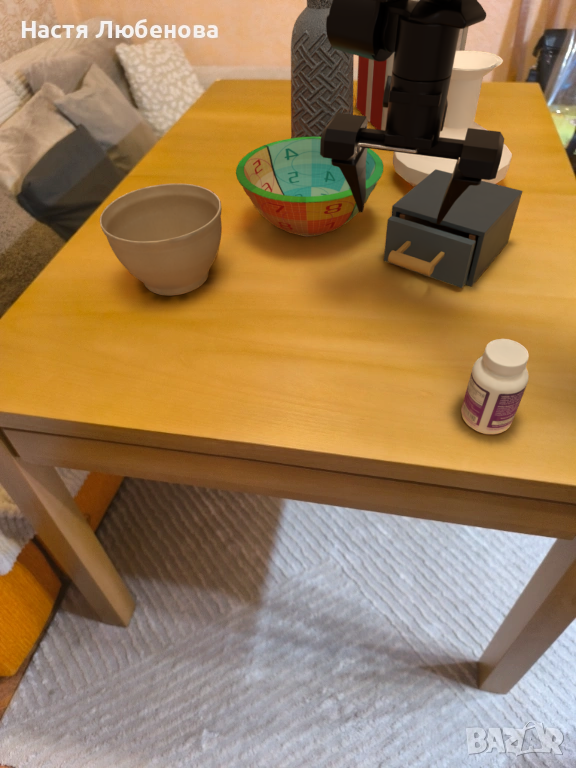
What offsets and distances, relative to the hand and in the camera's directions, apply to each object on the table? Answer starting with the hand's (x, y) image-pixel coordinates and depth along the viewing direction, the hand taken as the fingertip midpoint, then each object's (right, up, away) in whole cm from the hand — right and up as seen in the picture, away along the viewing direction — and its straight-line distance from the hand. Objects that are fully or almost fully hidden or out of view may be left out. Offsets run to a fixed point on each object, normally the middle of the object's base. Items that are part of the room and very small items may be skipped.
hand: (399, 216), depth 63 cm
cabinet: (+11, 0, +17) cm, 20 cm away
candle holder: (+15, +17, +33) cm, 40 cm away
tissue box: (+12, +40, +55) cm, 69 cm away
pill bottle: (+8, -24, -5) cm, 26 cm away
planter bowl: (-30, -4, +15) cm, 34 cm away
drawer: (+8, -2, +14) cm, 16 cm away
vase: (-7, +26, +43) cm, 51 cm away
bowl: (-10, +6, +24) cm, 27 cm away
